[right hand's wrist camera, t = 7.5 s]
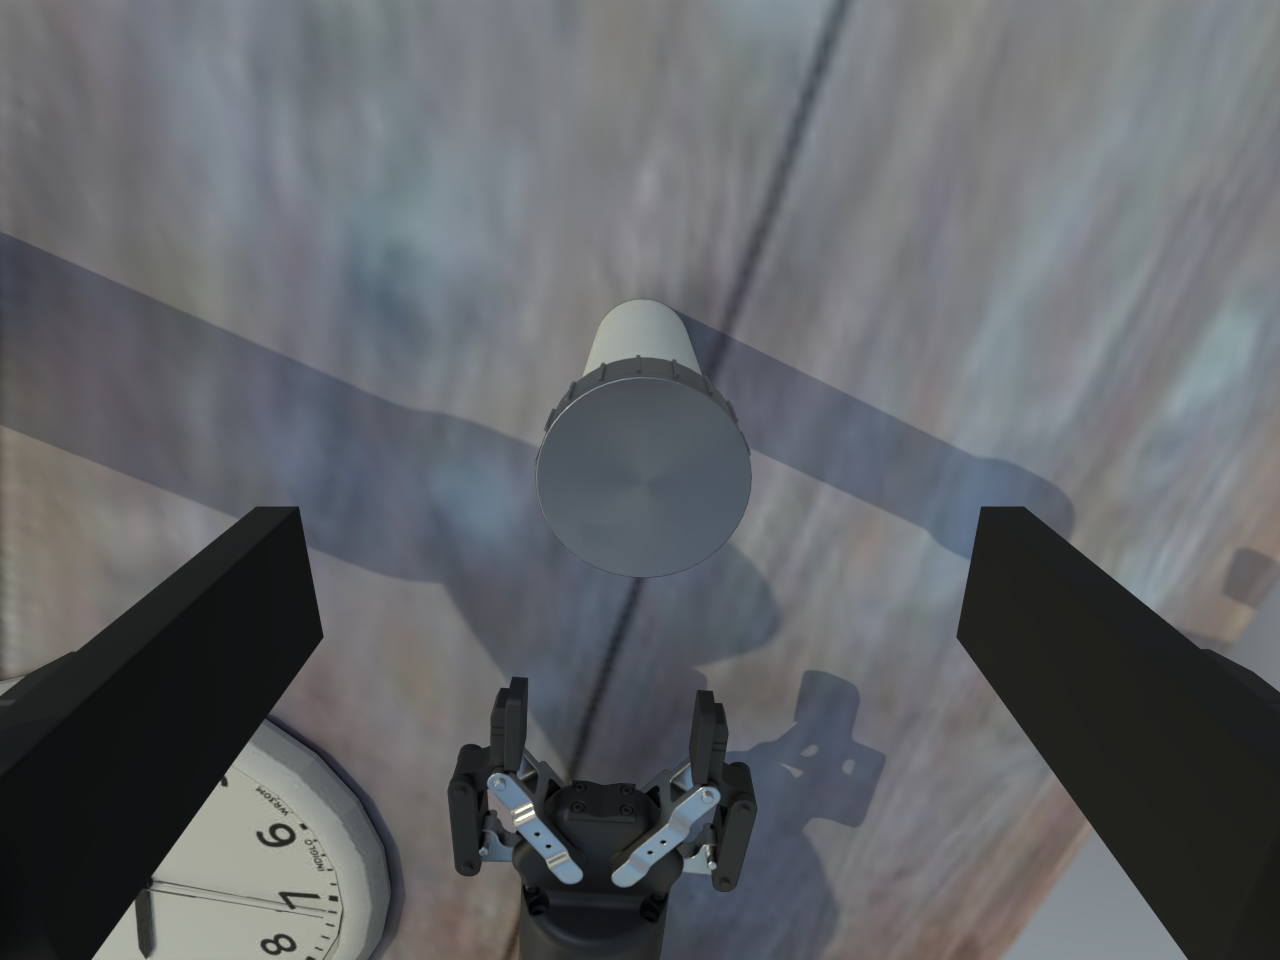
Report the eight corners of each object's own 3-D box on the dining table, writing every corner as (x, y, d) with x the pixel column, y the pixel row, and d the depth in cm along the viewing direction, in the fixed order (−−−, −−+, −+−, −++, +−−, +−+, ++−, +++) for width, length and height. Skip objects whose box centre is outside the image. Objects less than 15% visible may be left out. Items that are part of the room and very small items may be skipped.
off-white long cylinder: (620, 281, 32) (603, 359, 17) (706, 326, 33) (763, 440, 18) (579, 367, 33) (527, 511, 18) (661, 409, 34) (679, 580, 19)
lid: (596, 318, 18) (591, 333, 16) (779, 412, 19) (796, 438, 17) (512, 491, 20) (497, 525, 18) (683, 570, 21) (688, 611, 19)
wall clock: (467, 984, 46) (87, 1091, 51) (473, 959, 48) (103, 1065, 52) (195, 613, 36) (-253, 785, 40) (213, 596, 38) (-221, 764, 42)
